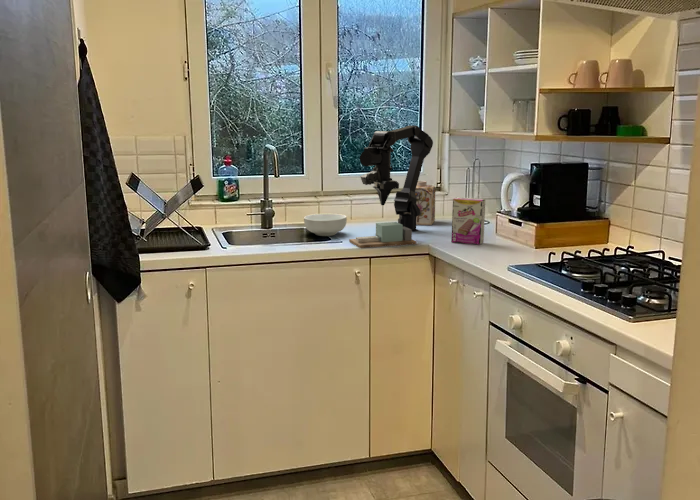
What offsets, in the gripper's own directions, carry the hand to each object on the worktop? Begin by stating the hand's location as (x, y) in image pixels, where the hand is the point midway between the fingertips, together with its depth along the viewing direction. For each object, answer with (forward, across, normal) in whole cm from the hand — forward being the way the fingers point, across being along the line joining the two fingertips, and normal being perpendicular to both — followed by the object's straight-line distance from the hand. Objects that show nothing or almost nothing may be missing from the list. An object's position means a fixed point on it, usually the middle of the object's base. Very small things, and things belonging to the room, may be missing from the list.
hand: (382, 205), depth 276 cm
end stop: (+12, +14, +4) cm, 19 cm away
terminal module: (+11, +14, -3) cm, 18 cm away
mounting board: (+12, +14, -5) cm, 19 cm away
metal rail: (+12, +14, -5) cm, 19 cm away
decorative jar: (+12, -23, +26) cm, 37 cm away
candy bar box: (+12, +23, +25) cm, 36 cm away
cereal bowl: (+12, -10, -20) cm, 26 cm away
